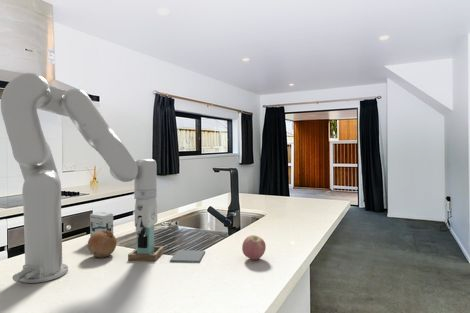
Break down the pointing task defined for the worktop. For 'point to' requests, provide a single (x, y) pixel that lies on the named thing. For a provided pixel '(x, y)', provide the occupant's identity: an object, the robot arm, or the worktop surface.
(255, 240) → the apple
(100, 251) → the onion
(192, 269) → the worktop surface
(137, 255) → the pocket frame
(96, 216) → the ink box
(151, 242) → the part
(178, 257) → the mat
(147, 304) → the worktop surface
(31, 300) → the worktop surface
